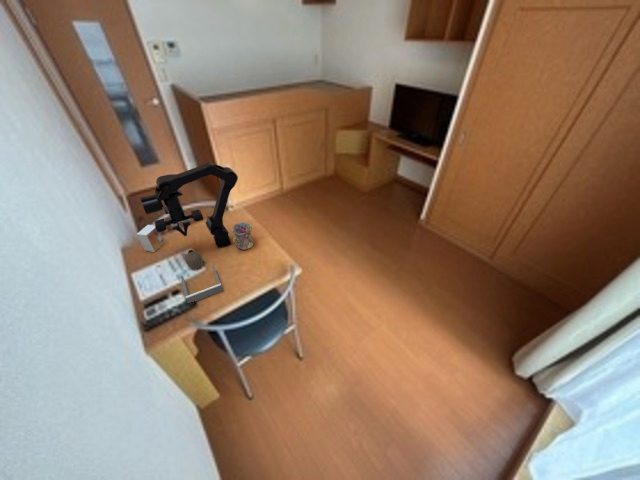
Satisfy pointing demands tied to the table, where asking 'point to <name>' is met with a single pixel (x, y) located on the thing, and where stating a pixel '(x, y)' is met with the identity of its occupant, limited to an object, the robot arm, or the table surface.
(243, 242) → the mug
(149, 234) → the small box
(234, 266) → the table surface
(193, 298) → the bay
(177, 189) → the robot arm
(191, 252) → the vase
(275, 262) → the table surface
